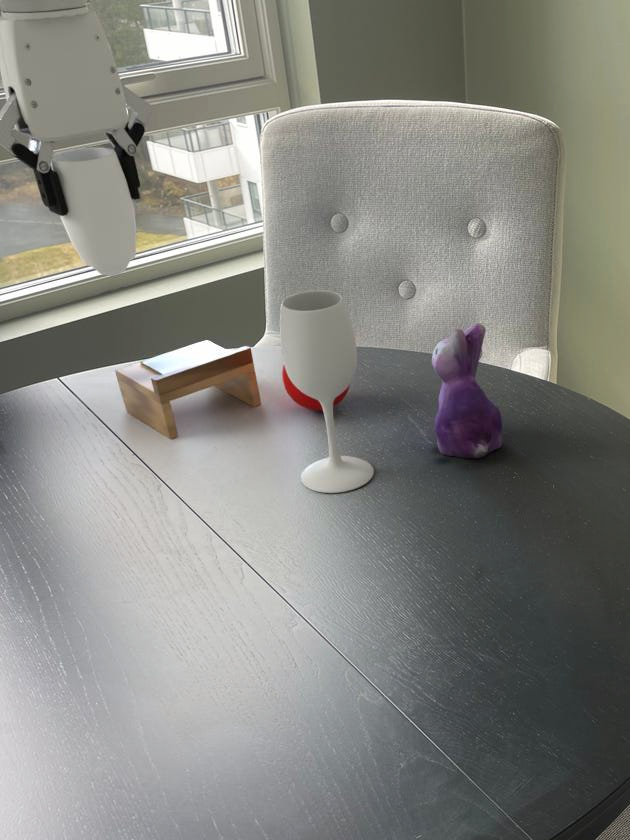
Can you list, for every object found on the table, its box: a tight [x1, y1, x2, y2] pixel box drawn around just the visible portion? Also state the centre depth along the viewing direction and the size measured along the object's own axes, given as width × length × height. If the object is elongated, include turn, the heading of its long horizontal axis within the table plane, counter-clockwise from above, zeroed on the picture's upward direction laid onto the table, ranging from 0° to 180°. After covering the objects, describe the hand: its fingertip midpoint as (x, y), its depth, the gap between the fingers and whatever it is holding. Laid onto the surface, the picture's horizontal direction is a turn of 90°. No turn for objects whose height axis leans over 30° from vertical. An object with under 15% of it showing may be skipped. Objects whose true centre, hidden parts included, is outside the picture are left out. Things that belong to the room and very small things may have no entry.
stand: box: [114, 339, 262, 440], centre depth 130 cm, size 12×14×8 cm
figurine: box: [431, 322, 503, 459], centre depth 117 cm, size 9×10×15 cm
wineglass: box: [279, 289, 375, 494], centre depth 109 cm, size 9×9×21 cm
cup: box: [51, 147, 138, 277], centre depth 102 cm, size 7×7×21 cm
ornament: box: [281, 363, 351, 412], centre depth 128 cm, size 9×9×10 cm
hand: (95, 203), depth 98 cm, fingers closed on cup, 7 cm apart
